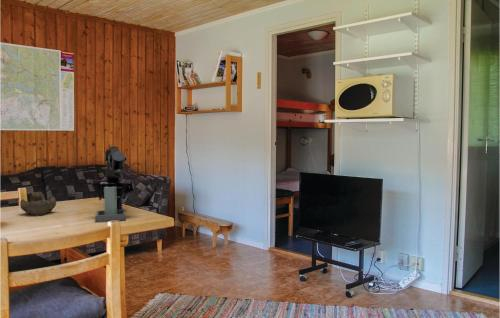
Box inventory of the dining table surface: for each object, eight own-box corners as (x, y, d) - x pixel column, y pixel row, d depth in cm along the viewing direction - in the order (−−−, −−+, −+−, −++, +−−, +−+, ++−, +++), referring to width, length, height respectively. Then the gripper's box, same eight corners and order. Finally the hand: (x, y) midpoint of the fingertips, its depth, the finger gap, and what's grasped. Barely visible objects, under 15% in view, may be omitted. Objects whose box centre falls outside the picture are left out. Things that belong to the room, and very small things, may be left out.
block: (107, 215, 202) (107, 186, 201) (117, 215, 202) (116, 186, 201) (104, 217, 197) (104, 187, 197) (114, 217, 197) (113, 187, 197)
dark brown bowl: (18, 206, 201) (19, 190, 213) (21, 225, 205) (22, 209, 217) (55, 202, 207) (54, 187, 219) (57, 220, 212) (56, 205, 224)
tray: (97, 216, 204) (97, 210, 204) (125, 215, 208) (125, 209, 208) (95, 222, 192) (95, 215, 191) (125, 220, 195) (125, 214, 195)
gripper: (92, 163, 202) (84, 189, 192) (132, 163, 202) (126, 189, 192) (98, 177, 210) (91, 203, 200) (136, 178, 211) (131, 203, 200)
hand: (109, 199), depth 198 cm, fingers open, 9 cm apart
